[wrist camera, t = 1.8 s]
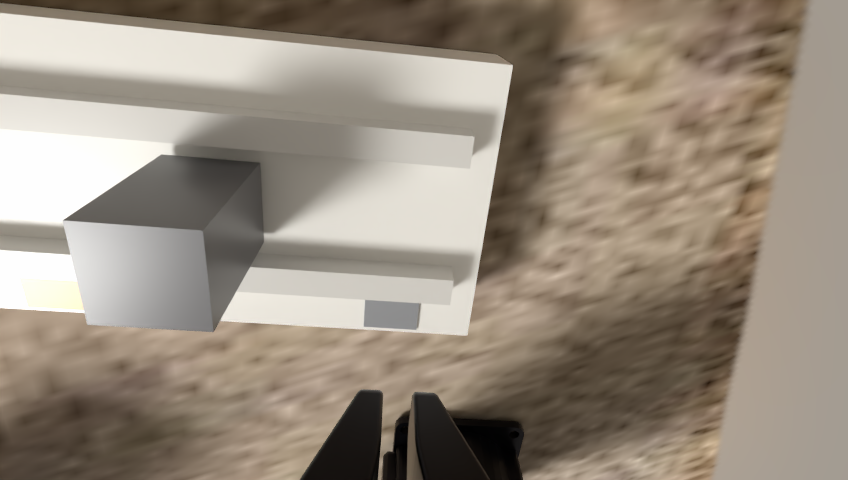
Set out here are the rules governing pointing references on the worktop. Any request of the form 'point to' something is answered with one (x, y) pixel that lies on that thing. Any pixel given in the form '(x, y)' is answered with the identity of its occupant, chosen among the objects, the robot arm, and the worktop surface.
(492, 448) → the robot arm
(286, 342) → the worktop surface
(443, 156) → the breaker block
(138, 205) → the switch knob
